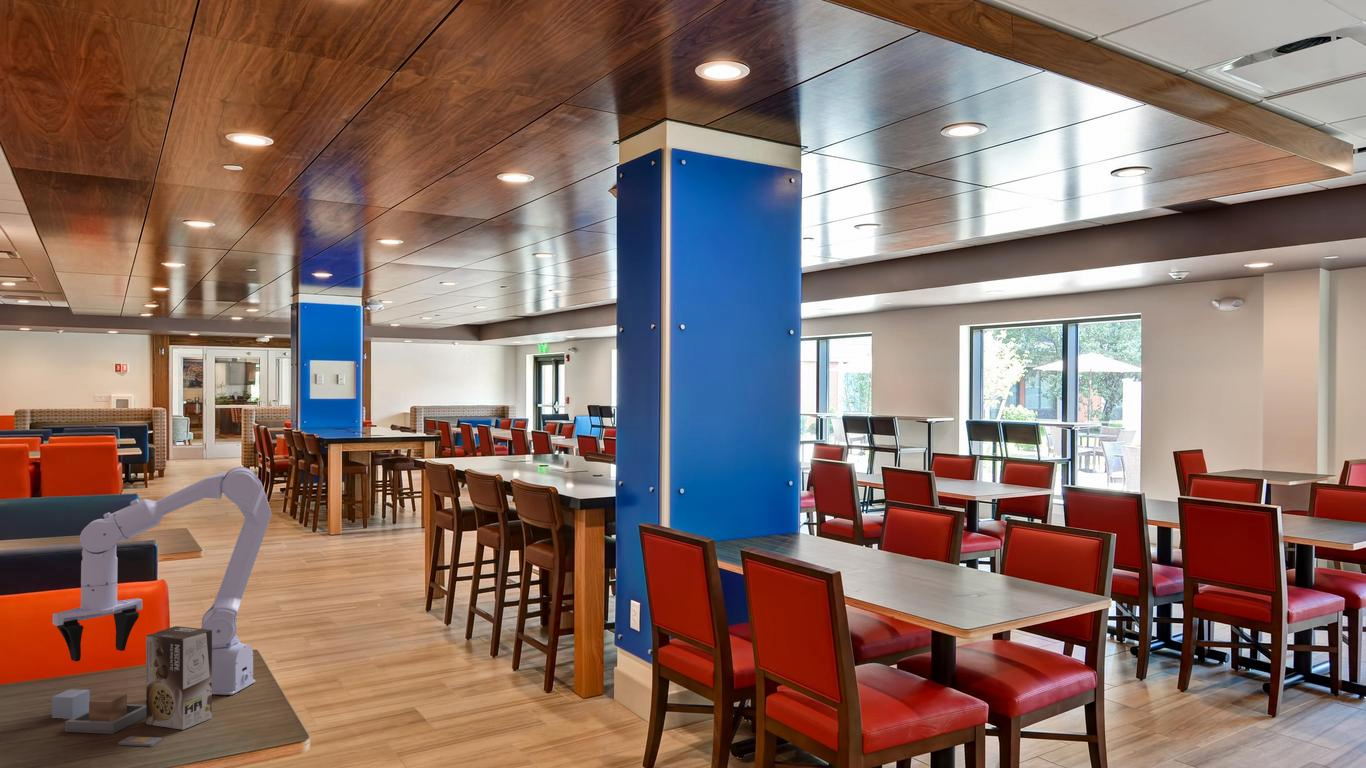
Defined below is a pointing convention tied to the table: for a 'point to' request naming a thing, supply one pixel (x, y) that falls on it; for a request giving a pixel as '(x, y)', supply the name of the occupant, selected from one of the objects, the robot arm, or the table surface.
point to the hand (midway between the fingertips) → (98, 655)
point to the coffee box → (179, 677)
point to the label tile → (140, 741)
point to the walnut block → (108, 707)
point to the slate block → (70, 703)
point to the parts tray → (86, 726)
